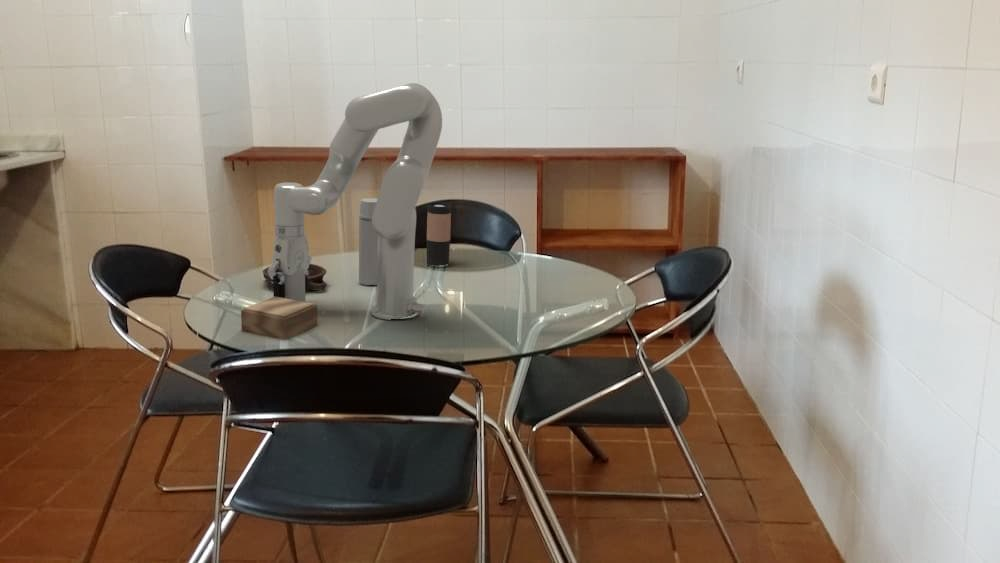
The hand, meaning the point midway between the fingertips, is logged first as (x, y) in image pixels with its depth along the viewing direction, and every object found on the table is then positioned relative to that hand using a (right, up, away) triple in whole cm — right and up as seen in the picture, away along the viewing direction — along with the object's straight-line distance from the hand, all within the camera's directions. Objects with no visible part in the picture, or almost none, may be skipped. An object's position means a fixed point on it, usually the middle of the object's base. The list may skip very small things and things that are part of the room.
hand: (290, 293), depth 230 cm
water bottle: (+18, +3, +28) cm, 34 cm away
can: (0, -4, +1) cm, 4 cm away
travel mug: (+35, +8, +53) cm, 64 cm away
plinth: (+1, -8, -15) cm, 17 cm away
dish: (-4, +2, +22) cm, 22 cm away
